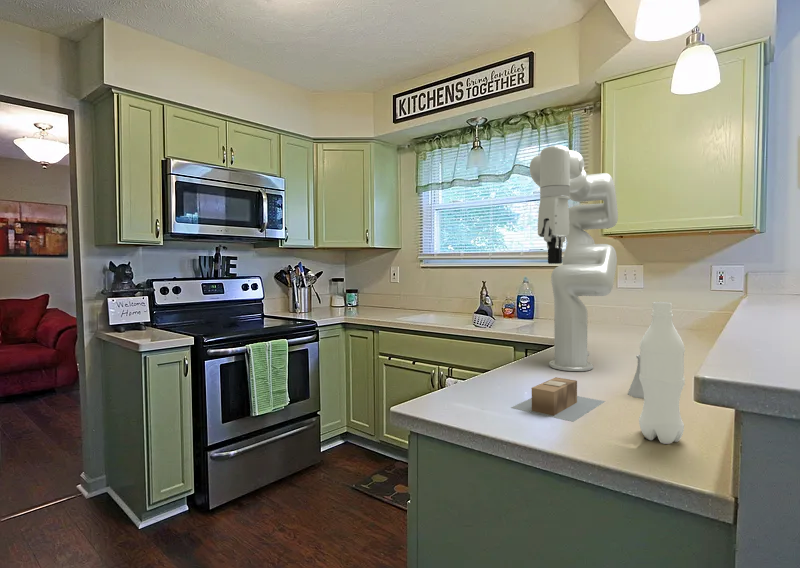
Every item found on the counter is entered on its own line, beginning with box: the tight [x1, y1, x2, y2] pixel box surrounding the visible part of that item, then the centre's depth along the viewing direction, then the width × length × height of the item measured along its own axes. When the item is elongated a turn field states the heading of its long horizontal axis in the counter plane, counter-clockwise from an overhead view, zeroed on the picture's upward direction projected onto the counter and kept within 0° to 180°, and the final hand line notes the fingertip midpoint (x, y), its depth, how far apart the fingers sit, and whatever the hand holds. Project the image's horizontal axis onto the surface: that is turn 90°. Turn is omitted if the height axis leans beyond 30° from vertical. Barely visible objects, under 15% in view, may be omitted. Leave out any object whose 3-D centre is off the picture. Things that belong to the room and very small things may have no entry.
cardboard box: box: [531, 376, 578, 416], centre depth 103 cm, size 5×5×12 cm
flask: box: [627, 354, 644, 400], centre depth 111 cm, size 7×7×10 cm
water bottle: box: [638, 301, 686, 445], centre depth 84 cm, size 7×7×25 cm
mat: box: [510, 395, 606, 423], centre depth 104 cm, size 18×14×1 cm
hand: (554, 263), depth 124 cm, fingers closed
